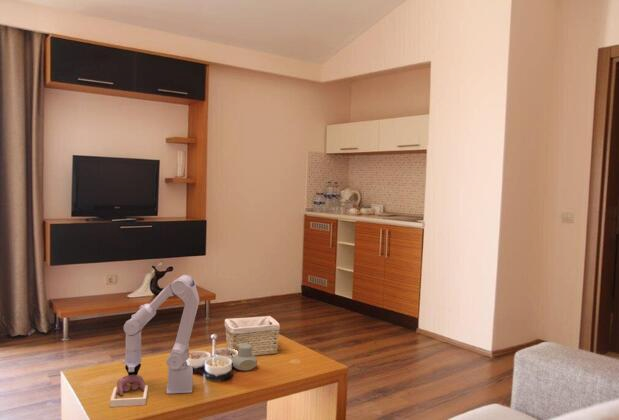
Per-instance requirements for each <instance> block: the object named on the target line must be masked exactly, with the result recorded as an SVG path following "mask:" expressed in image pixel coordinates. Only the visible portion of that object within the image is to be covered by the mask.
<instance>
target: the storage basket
mask: <svg viewBox="0 0 619 420" xmlns="http://www.w3.org/2000/svg"><path fill="white" fill-rule="evenodd" d="M224 328H225V336H226V337H225V338H226V340H225V341H226V348H227V347H229V348H231V349H235V350H237V351H238V346H239V345H241V344H250V345H251V346H252V355H254V356H255V357H256V356H263V355H264V356H266V355H272V354H277V353H278V346H279V344H278V343H279V335H280V334H279V333H280V329H281V326H280V323H279V322H278V321H277V319H275V318H274V317H272V316H271V315H267V316H266V315H265V316H251V317H250V316H249V317H238V318H237V317H235V318H225V319H224Z"/></svg>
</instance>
